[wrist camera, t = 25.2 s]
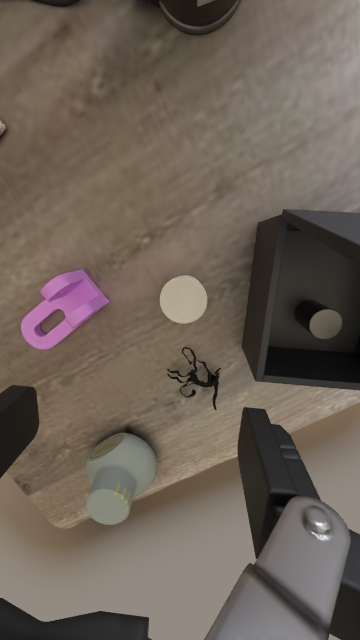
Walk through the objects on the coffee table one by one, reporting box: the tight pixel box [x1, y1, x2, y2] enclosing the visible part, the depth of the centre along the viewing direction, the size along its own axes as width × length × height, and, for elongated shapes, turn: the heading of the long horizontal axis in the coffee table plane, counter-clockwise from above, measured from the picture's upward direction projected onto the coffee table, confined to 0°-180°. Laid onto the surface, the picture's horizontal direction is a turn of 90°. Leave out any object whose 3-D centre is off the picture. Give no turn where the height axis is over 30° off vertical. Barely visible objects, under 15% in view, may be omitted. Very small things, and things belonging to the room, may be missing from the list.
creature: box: [167, 347, 221, 410], centre depth 37 cm, size 8×5×8 cm
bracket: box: [21, 269, 110, 349], centre depth 35 cm, size 13×6×7 cm, turn 128°
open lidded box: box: [242, 215, 360, 390], centre depth 31 cm, size 17×16×10 cm
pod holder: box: [294, 300, 342, 339], centre depth 33 cm, size 4×4×5 cm
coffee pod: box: [160, 275, 207, 324], centre depth 34 cm, size 6×6×5 cm
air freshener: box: [85, 433, 157, 525], centre depth 40 cm, size 11×8×10 cm
